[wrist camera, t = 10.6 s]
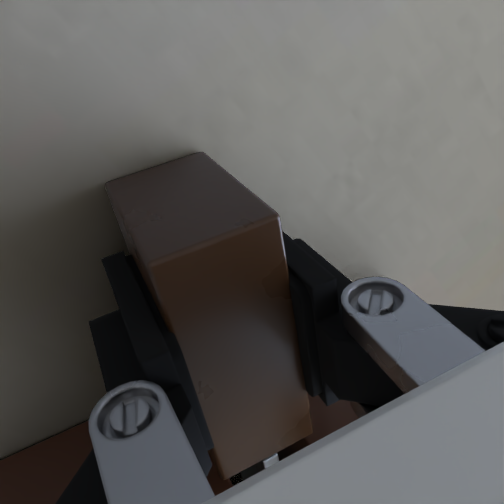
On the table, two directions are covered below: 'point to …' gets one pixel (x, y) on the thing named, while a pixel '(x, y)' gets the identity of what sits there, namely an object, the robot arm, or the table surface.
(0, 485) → the cake
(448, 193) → the table surface
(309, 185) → the table surface
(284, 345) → the knife
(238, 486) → the robot arm
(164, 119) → the table surface
